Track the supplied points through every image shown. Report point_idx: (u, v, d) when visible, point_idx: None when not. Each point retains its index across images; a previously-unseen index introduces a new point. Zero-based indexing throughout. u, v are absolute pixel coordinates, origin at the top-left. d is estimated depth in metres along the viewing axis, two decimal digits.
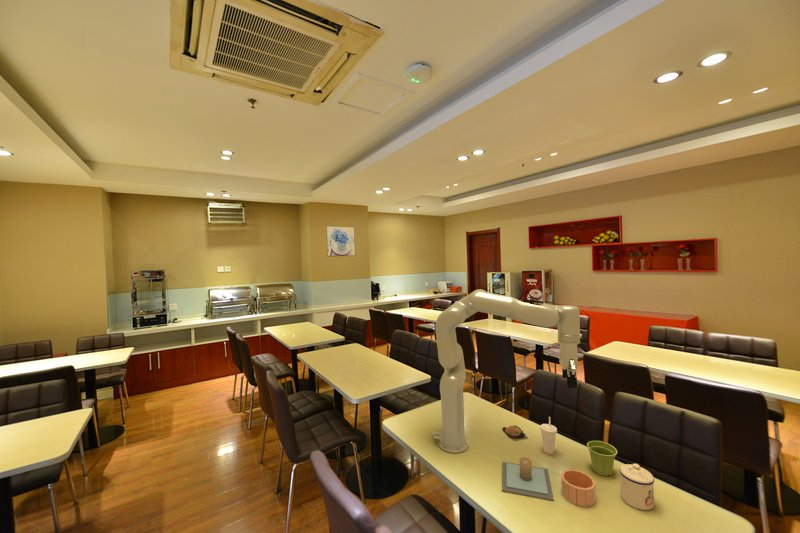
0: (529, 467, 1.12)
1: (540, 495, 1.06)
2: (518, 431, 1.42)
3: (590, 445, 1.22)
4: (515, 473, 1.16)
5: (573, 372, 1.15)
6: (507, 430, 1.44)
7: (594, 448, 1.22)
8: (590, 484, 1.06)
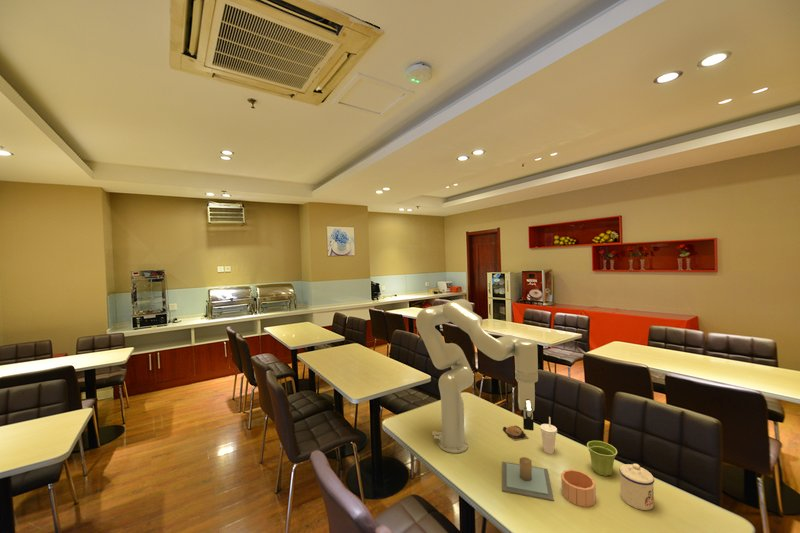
0: (529, 467, 1.12)
1: (540, 495, 1.06)
2: (518, 431, 1.42)
3: (590, 445, 1.22)
4: (515, 473, 1.16)
5: (529, 414, 1.06)
6: (507, 430, 1.44)
7: (594, 448, 1.22)
8: (590, 484, 1.06)
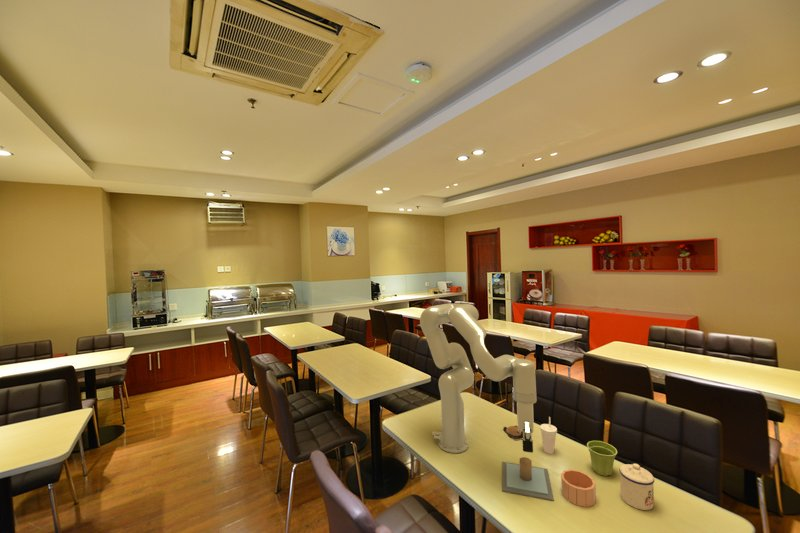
0: (529, 467, 1.12)
1: (540, 495, 1.06)
2: None
3: (590, 445, 1.22)
4: (515, 473, 1.16)
5: (527, 436, 1.06)
6: (508, 430, 1.44)
7: (594, 448, 1.22)
8: (590, 484, 1.06)
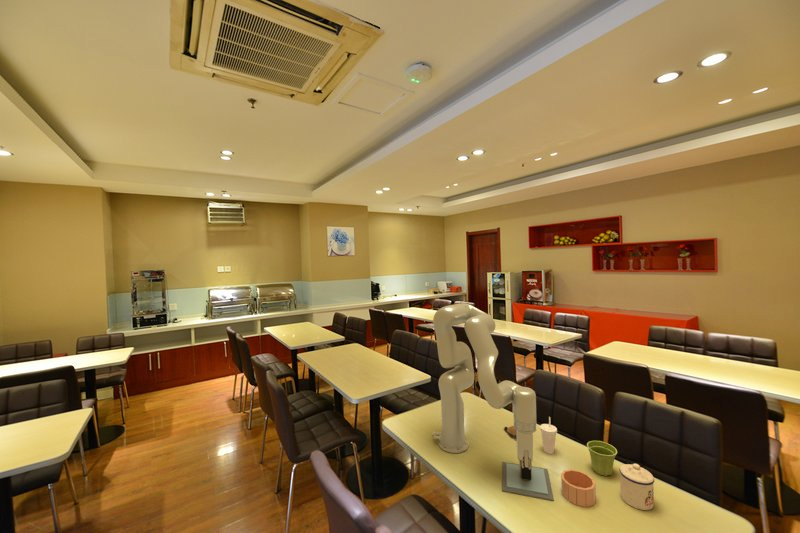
0: None
1: (540, 495, 1.06)
2: None
3: (590, 445, 1.22)
4: (515, 473, 1.16)
5: (526, 467, 1.09)
6: (509, 430, 1.44)
7: (594, 448, 1.22)
8: (590, 484, 1.06)
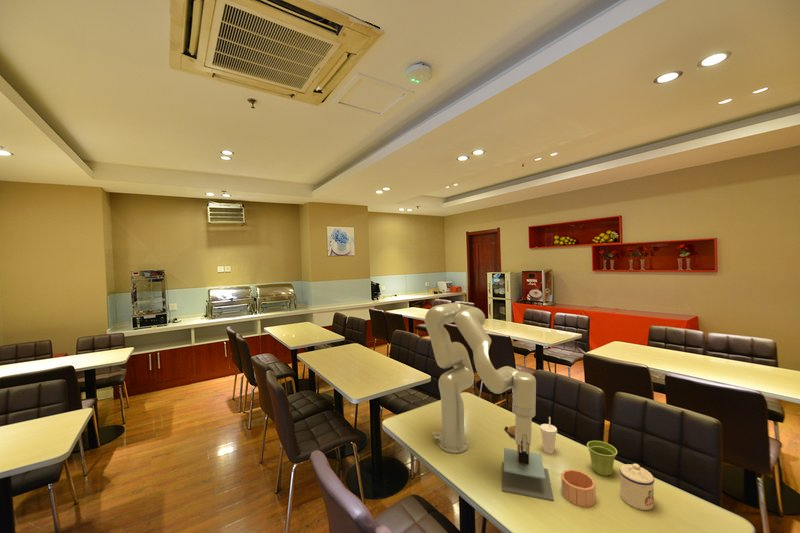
0: None
1: (540, 495, 1.06)
2: None
3: (590, 445, 1.22)
4: (513, 458, 1.17)
5: (524, 451, 1.09)
6: (509, 430, 1.44)
7: (594, 448, 1.22)
8: (590, 484, 1.06)
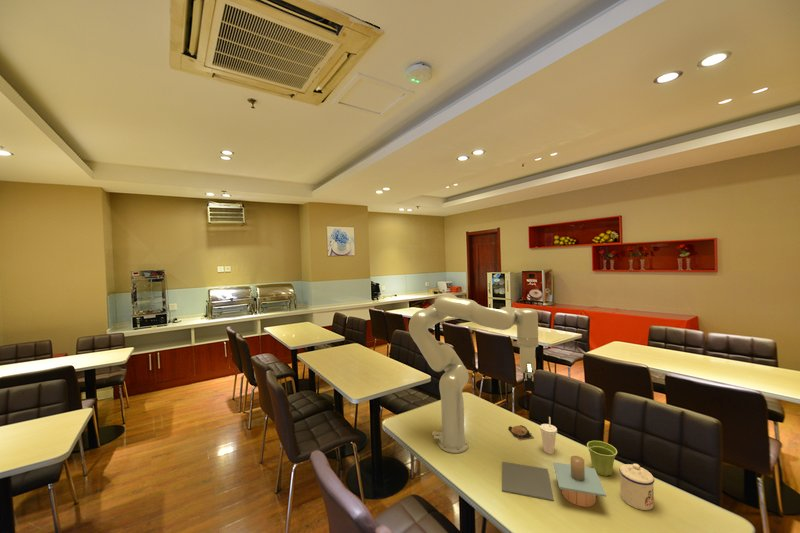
0: (582, 466, 1.04)
1: (540, 495, 1.06)
2: (524, 431, 1.42)
3: (590, 445, 1.22)
4: (566, 473, 1.08)
5: (529, 375, 1.15)
6: (513, 429, 1.45)
7: (594, 448, 1.22)
8: None
